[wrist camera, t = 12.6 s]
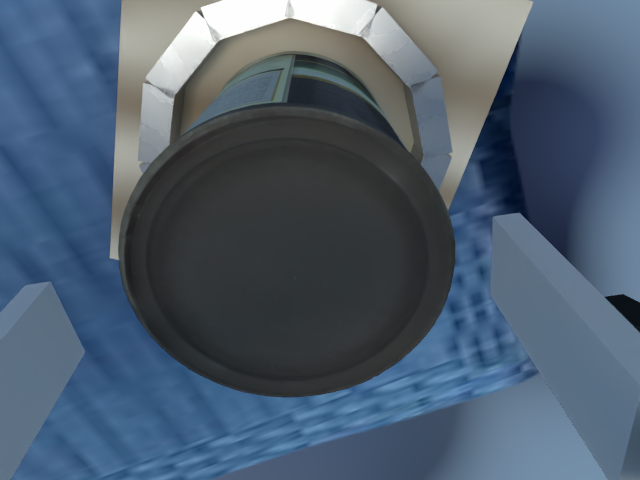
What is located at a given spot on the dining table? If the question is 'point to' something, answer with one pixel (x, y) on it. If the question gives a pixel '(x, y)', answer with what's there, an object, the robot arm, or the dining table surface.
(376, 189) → the coffee can
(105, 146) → the dining table surface
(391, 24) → the steel collar
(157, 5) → the birch board
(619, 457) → the robot arm
